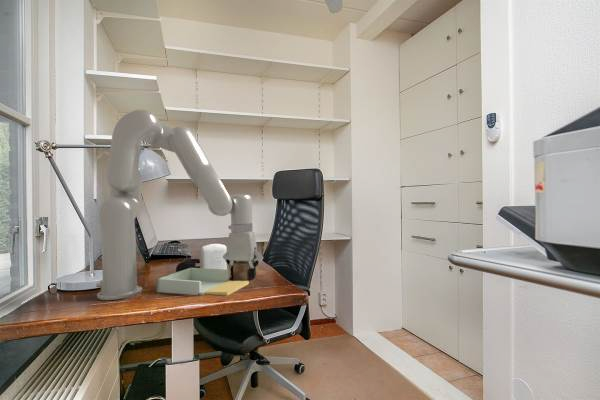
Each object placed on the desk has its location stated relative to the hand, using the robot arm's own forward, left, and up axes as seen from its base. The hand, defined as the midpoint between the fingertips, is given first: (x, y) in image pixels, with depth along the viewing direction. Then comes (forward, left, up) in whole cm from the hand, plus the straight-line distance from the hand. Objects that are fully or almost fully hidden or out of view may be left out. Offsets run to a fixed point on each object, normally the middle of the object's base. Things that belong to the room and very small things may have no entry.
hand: (243, 277), depth 115 cm
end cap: (-25, +2, -2) cm, 25 cm away
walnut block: (0, 0, -1) cm, 1 cm away
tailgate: (-3, -13, 0) cm, 13 cm away
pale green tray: (-11, -13, -1) cm, 17 cm away
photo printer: (-16, +6, -1) cm, 17 cm away
